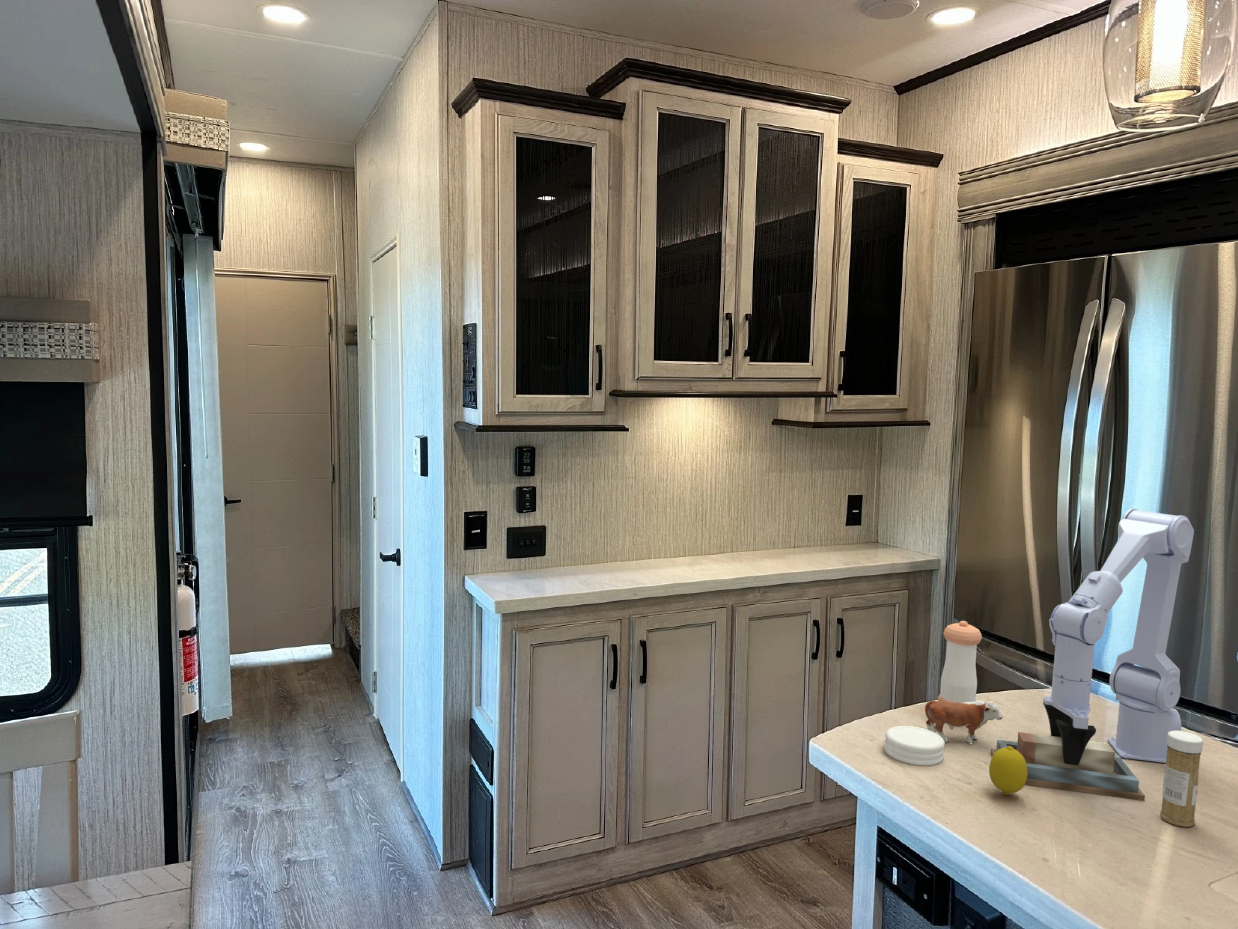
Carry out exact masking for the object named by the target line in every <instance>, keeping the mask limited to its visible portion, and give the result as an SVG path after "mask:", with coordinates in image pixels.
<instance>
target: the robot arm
mask: <svg viewBox="0 0 1238 929" xmlns="http://www.w3.org/2000/svg"><path fill="white" fill-rule="evenodd" d="M1194 534H1195V529H1194V527H1193V526H1192V523H1191V522H1190V520H1189V518H1188V517H1187V516H1186V515H1174V514H1167V513H1160V512H1153V511H1147V510H1139V509H1137V508H1130V509H1129V508H1128V509H1127V511H1125V512H1124V513H1123V515H1122V516H1121V518H1120V521H1119V522H1118V526H1117V535H1118V540H1117V542H1116V543H1115V545H1114V547H1113V548H1112V550H1111V552H1110V554H1109V555H1108V557H1107V559H1106V561H1105V562H1104V564H1103V566H1102V567H1101V569H1100V570H1099V571H1098V570H1097V571H1091V572H1089V574H1088V575H1087V576H1086V578H1085V579H1084V581H1083V582H1082V583H1081V584H1080V585H1079V586H1078V589H1077V590H1076V591H1075V592H1074V594H1073V595H1072V596H1071V598H1070V599H1069V600H1068V602H1064V603H1061V604H1058V605H1057V606H1055V608H1053V611H1052V613H1051V615H1050V618H1049V622H1048V623H1049V624H1048V625H1049V629H1050V632H1051V634H1052V635H1051V636H1052V638H1051V643H1052V644H1053V645H1054V647H1055V648H1054V649H1055V650H1054V658H1053V659H1054V660H1053V670H1052V680H1051V681H1052V683H1051V693H1050V696H1043V698H1042V703H1043V704H1042V705H1043V707H1044V708H1045V711H1046V713H1047V714H1046V715H1047V719H1048V722H1049V730H1050V736H1055V737H1061V739H1062V752H1063V760H1064V763H1065V764H1071V765H1079V763H1080V760H1081V758H1082V755H1083V752H1084V750H1085V747H1086V745H1087V743H1088V742H1089V741H1091V739H1092V738H1093V737H1094V736H1095V734H1096V732H1097V728H1096V727H1095V726H1094V725H1089V719H1090V718H1089V714H1090V711H1091V704H1090V699H1091V688H1092V677H1093V676H1092V675H1093V667H1094V666H1093V665H1094V664H1093V663H1094V654H1095V644H1096V643H1098V642H1099V641H1100V640H1101V639H1102V637H1103V635H1104V633H1105V628H1106V624H1107V622H1108V619H1109V618H1108V614H1109V613H1110V611H1111V609H1112V608H1113V606H1114V605H1115V604H1116V602H1117V601H1118V600H1119V598H1120V597H1121V595H1122V594H1123V592H1124V591H1123V587H1122V584H1121V583H1122V582H1123V581H1124V579H1126V577H1127V576H1129V574H1130V573H1131V572H1132V571H1133V570H1134V568H1135V567H1136V566H1137V565H1138V564H1139V562H1141V561H1142V559H1143V560H1144V561H1145V562H1146V569H1145V576H1144V581H1143V587H1142V591H1141V598H1140V603H1139V609H1138V610H1139V611H1138V614H1137V615H1138V616H1137V621H1136V627H1135V633H1134V638H1133V644H1132V648H1130V649H1129V650H1126V651H1123V652H1121V653H1120V654H1118V655H1116V656H1117V657H1116V661H1115V664H1114V666H1113V668H1112V670H1111V672H1110V676H1109V686H1110V689H1111V692H1112V693H1113V694H1114V695H1115V700H1116V701H1119V703H1118V713H1117V714H1118V716H1117V723H1116V724H1117V725H1116V736H1115V738H1111V737H1110V738H1107V743H1108V744H1109V745H1110V746H1111V748H1112V749H1113V750H1114V751H1115V753H1116V754H1118V755H1119V756H1120V758H1122V759H1123V758H1125V759H1132V760H1138V761H1139V760H1140V761H1148V762H1156V763H1166V757H1167V734H1168V732H1170V731H1182V720H1181V715H1180V714H1179V712H1178V710H1177V709H1176V708H1174V707H1175V706H1176V705H1177V704H1178V702H1179V700H1180V697H1181V689H1182V688H1181V683H1180V678H1181V677H1180V676H1181V670H1180V668H1179V667H1178V666H1177V665H1176V664H1175V663H1174V662H1173V660H1171V659H1170V658H1169V657H1168V655H1167V654H1166V652H1167V647H1168V641H1169V635H1170V629H1171V624H1172V618H1173V614H1174V607H1175V601H1176V595H1177V590H1178V583H1179V580H1180V573H1181V567H1182V564H1185V563H1188V562H1189V559H1190V555H1191V550H1192V546H1193V539H1194Z"/></svg>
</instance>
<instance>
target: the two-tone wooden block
mask: <svg viewBox="0 0 1238 929" xmlns="http://www.w3.org/2000/svg"><path fill="white" fill-rule="evenodd" d="M1016 742H1017V751H1018V752H1019V753H1020V754H1021V755H1022V756H1023V757H1024V759H1025V761H1026V763H1031V764H1039V765H1047V766H1054V767H1062V768H1070V769H1078V770H1086V771H1093V772H1101V773H1109V774H1113V770H1114V759H1115V754H1116V750H1115V749H1114V748H1113V747H1112V745H1111V744H1110V743H1109V742H1104V741H1094V740H1089V742H1088V743H1087V745H1086V747H1085V750H1084V752H1083V755H1082V758H1081V760H1080V763H1079V765H1071V764H1065V763H1064V760H1063V752H1062V739H1061V737H1055V736H1051V735H1045V734H1038V733H1028V732H1020V731H1018V733H1017V741H1016Z"/></svg>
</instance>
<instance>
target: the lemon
mask: <svg viewBox="0 0 1238 929" xmlns="http://www.w3.org/2000/svg"><path fill="white" fill-rule="evenodd" d="M988 769H989V770H988V772H989V778H990V780H991V782H992V784H993V786H995V788H996V789H998V791H1001V793H1003V795H1004V796H1009V795H1010V794H1014V793H1017V792H1019V791H1021V790H1022V789H1023V788H1024V787H1025V786H1026V785H1025V783H1026V780H1027V765H1026V761H1025V759H1024V757H1023V756H1022V755H1021V754H1020V753H1019V752H1018V751H1017V750H1015V749H1013V747H1011V746H1008V747H1006V748H1001V749H999V750H997V751H996V752H995V753H994V754H993V756H992V755H991V759H990V762H989V767H988Z"/></svg>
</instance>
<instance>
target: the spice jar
mask: <svg viewBox="0 0 1238 929" xmlns="http://www.w3.org/2000/svg"><path fill="white" fill-rule="evenodd" d="M1203 746H1204V740H1203V738H1202V737H1200V736H1199V735H1198V734H1195V733H1191V732H1188V731H1183V730H1181V731H1170V732H1168V734H1167V757H1166V763H1165V764H1164V775H1163V784H1162V794H1161V795H1162V800H1161V802H1162V803H1161V811H1160V814H1159V815H1160V816H1159V817H1160V818H1162V820H1164V822H1165V821H1166V822H1167V823H1169V824H1171V825H1174V826H1178V827H1192V826H1194V825H1195V823H1196V820H1195V815H1196V806H1197V800H1198V788H1199V770H1200V762H1201V760H1200V759H1201V755H1202V752H1203Z"/></svg>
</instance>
